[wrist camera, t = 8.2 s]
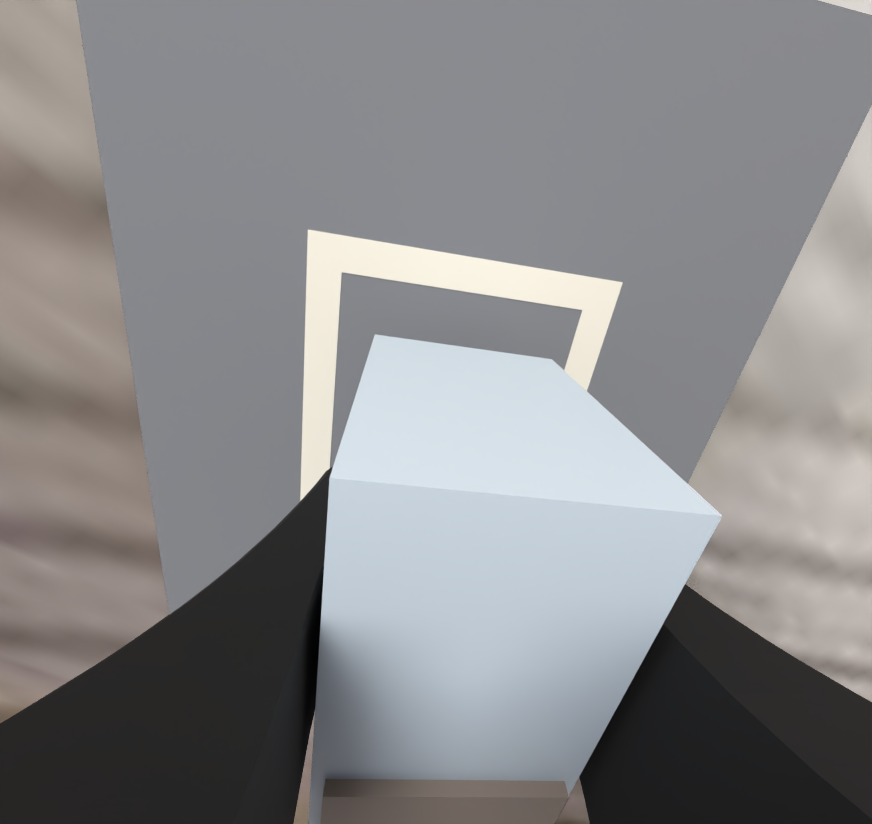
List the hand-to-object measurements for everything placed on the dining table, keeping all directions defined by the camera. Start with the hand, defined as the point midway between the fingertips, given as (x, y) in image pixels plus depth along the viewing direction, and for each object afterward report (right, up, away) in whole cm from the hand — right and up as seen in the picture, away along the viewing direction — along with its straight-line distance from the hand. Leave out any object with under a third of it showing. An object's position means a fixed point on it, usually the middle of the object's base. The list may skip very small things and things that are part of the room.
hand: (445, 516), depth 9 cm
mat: (0, +1, +3) cm, 3 cm away
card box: (0, +1, +1) cm, 1 cm away
